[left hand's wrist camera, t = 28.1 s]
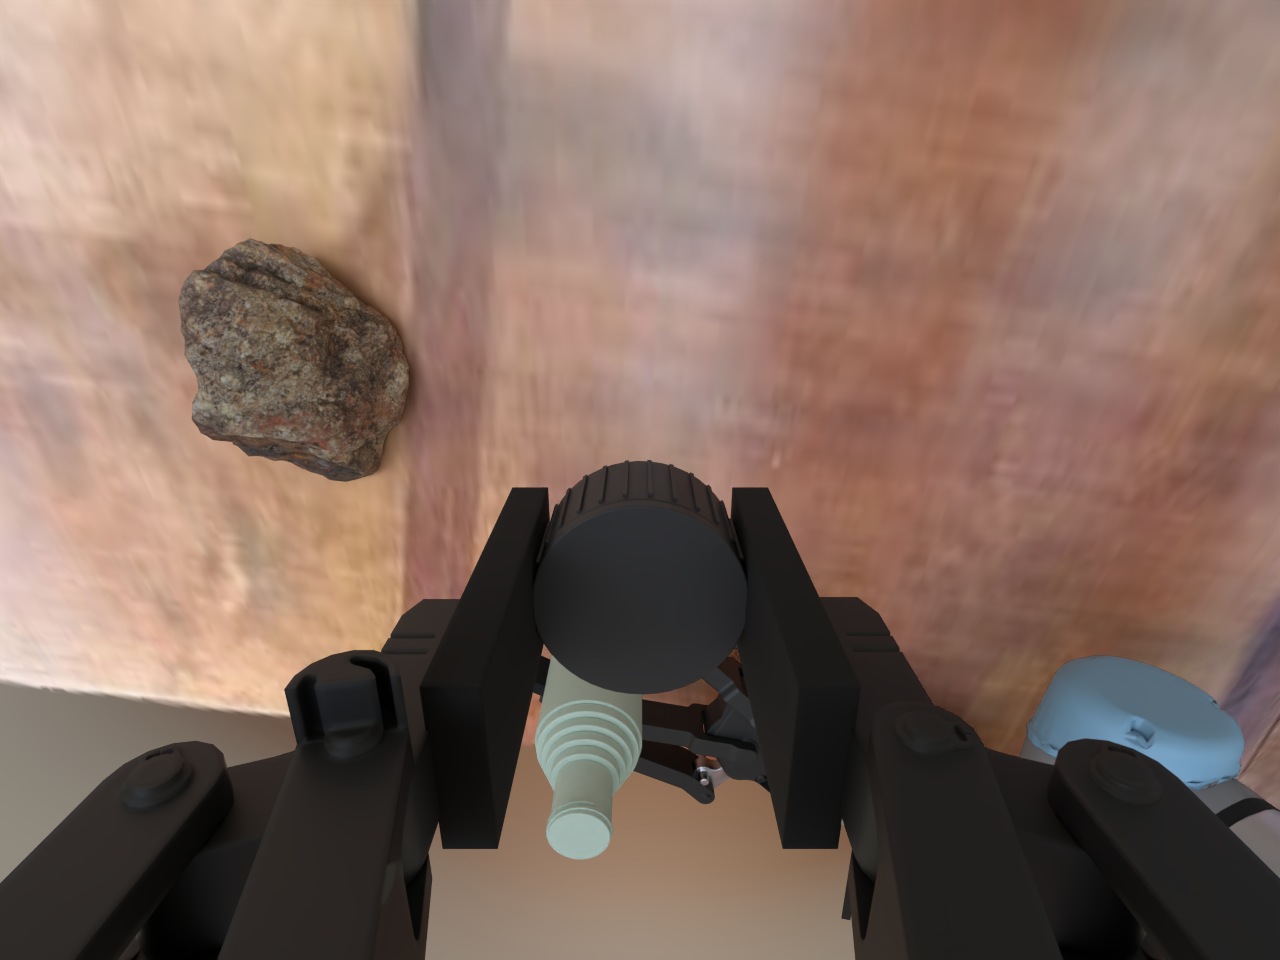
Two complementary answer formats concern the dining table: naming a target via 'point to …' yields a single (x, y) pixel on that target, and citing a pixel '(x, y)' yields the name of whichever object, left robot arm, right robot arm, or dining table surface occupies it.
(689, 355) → the dining table surface
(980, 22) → the dining table surface
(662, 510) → the cap
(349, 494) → the dining table surface
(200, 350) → the rock
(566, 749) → the bottle
